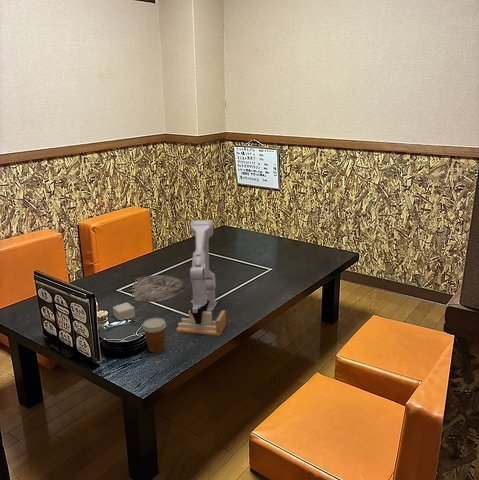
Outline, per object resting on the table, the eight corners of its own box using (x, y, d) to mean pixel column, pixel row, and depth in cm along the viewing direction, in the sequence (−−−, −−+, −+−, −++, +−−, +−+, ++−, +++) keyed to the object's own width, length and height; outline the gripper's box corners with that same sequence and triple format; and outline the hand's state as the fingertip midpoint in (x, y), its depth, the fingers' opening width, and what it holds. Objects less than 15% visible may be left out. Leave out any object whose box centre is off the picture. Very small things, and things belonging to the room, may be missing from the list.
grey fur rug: (151, 271, 276) (151, 270, 276) (197, 284, 256) (197, 283, 256) (106, 291, 250) (106, 290, 250) (153, 307, 231) (153, 306, 230)
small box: (135, 317, 221) (134, 307, 220) (120, 322, 217) (118, 312, 215) (128, 311, 227) (127, 301, 226) (113, 316, 223) (112, 306, 221)
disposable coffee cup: (151, 341, 200) (148, 316, 196) (171, 344, 197) (169, 318, 193) (140, 353, 191) (137, 326, 187) (162, 356, 188) (159, 329, 185)
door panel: (191, 323, 211) (190, 309, 209) (212, 325, 209) (211, 311, 207) (189, 325, 209) (188, 311, 207) (211, 328, 207) (210, 313, 205)
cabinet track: (184, 320, 216) (183, 306, 214) (226, 324, 212) (225, 310, 209) (176, 331, 207) (175, 317, 205) (219, 335, 202) (219, 321, 200)
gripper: (195, 284, 211) (197, 311, 216) (184, 298, 198) (186, 327, 202) (210, 285, 210) (212, 313, 214) (200, 299, 196) (202, 328, 201)
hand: (201, 320), depth 208 cm, fingers open, 6 cm apart
